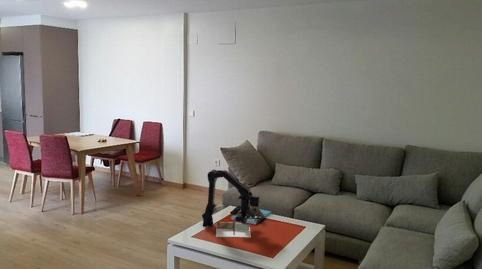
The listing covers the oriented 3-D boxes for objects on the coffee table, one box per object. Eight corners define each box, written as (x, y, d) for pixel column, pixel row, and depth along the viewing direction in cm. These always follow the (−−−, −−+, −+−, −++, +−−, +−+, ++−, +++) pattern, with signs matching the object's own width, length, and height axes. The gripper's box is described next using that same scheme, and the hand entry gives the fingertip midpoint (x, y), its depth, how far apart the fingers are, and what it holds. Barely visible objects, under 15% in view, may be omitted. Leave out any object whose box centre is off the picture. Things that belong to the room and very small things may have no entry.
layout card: (216, 237, 253) (216, 236, 253) (216, 226, 270) (216, 226, 270) (251, 237, 254) (251, 236, 254) (249, 227, 271) (249, 226, 271)
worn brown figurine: (249, 221, 288) (244, 198, 286) (249, 218, 294) (245, 196, 291) (264, 219, 287) (260, 196, 285) (264, 216, 293) (260, 193, 290)
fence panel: (234, 228, 266) (235, 222, 265) (235, 227, 267) (235, 221, 266) (248, 230, 263) (248, 224, 263) (249, 229, 264) (249, 223, 264)
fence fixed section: (217, 229, 266) (217, 222, 265) (217, 228, 267) (217, 221, 266) (234, 229, 266) (234, 222, 266) (234, 228, 267) (234, 221, 267)
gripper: (250, 211, 252) (249, 234, 255) (260, 202, 269) (260, 223, 272) (235, 208, 257) (234, 230, 260) (246, 199, 273) (245, 220, 276)
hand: (244, 226), depth 267 cm, fingers closed
